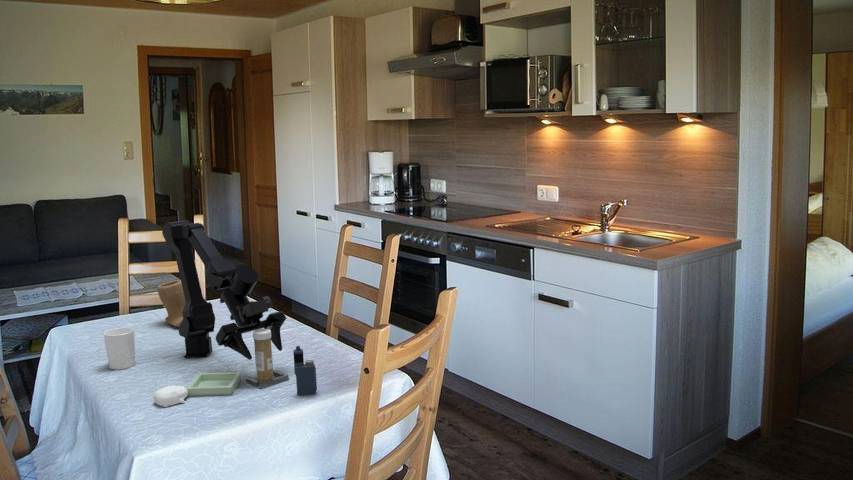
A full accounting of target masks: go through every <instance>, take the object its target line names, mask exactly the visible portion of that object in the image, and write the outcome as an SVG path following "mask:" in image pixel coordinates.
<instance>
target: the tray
mask: <svg viewBox="0 0 853 480" xmlns="http://www.w3.org/2000/svg"><path fill="white" fill-rule="evenodd" d="M241 381H242V372H241V371H236V372H235V371H233V372H230V371H228V372H206V373H205V372H201V373H200V372H199V373H198V374H197V375H196V376H195V378H194V379H193V380H192V381H191V382H190V384H189V385H188V386H187V387H186V388H187V390H188V394H187V396H188V397H211V396H212V397H213V396H232V395H233V394H234V393H235V390H236V389H237V387H238V386H239V384H240V383H241ZM187 396H186V397H187Z"/></svg>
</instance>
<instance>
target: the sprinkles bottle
mask: <svg viewBox="0 0 853 480" xmlns="http://www.w3.org/2000/svg"><path fill="white" fill-rule="evenodd" d="M252 337H253V344H254V358H255V359H254V361H255V369H256V370H255V371H256V380H257V381H259V382H260V383H261V382H264V381H268V380H271V379H274V378H275V376H274V375H273V370H274V363H273V351H272V350H273V349H272V341H271V330H269V329H264V328H261V329H258V330H254V331H252Z"/></svg>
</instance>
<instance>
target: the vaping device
mask: <svg viewBox="0 0 853 480" xmlns="http://www.w3.org/2000/svg"><path fill="white" fill-rule="evenodd" d="M292 353H293V372H294V375H295V380H296V395H297V396H304V395H307V396H308V395H309V396H310V395H315V394H316V393H317V389H318V386H317V384H318V383H317V382H318V381H317V369H316V365H315V363H314V362H315V360H313V359H307V360H304V359H305V358H304V350H303V348H301V346H300V345H297V346H295V349H293V352H292ZM304 361H305V362H304Z"/></svg>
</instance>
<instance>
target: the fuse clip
mask: <svg viewBox="0 0 853 480" xmlns="http://www.w3.org/2000/svg"><path fill="white" fill-rule="evenodd" d="M273 375H274V379H271V380H268V381H264V382H261V383H260V382H259V381H257V379H254V378H251V377H246V378H245V383H246V384H248V385H250V386H253V387H255V388H258V389H260V390H262V389H265V388H267V387H272V386H274V385H277V384H280V383H283V382H286V381H289V379H290V378H289V374H285V373H284V372H281V371H278V370H275V369H273Z"/></svg>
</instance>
